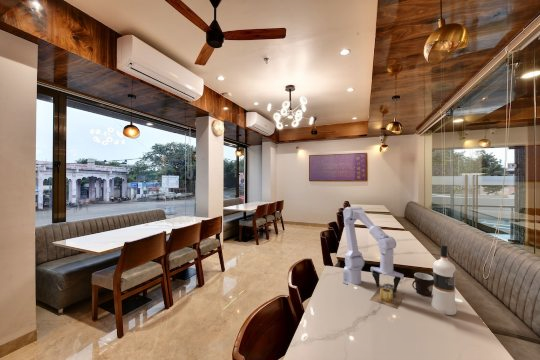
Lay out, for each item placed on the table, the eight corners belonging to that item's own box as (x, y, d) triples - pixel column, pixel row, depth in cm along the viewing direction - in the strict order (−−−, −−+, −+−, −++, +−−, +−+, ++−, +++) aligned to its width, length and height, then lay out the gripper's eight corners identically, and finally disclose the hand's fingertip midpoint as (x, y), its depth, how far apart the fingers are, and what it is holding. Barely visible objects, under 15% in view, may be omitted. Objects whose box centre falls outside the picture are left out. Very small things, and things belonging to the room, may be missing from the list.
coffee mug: (427, 291, 123) (427, 273, 123) (437, 300, 114) (438, 280, 114) (404, 290, 124) (405, 272, 124) (413, 299, 116) (413, 279, 115)
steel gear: (384, 296, 116) (384, 287, 116) (382, 291, 121) (382, 282, 121) (396, 298, 114) (396, 289, 114) (394, 292, 119) (394, 284, 119)
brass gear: (378, 299, 113) (378, 290, 113) (382, 295, 117) (382, 286, 117) (390, 303, 109) (390, 294, 109) (394, 299, 113) (394, 290, 113)
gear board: (369, 302, 113) (369, 291, 112) (380, 288, 126) (380, 278, 126) (397, 311, 105) (397, 299, 105) (405, 296, 119) (405, 285, 118)
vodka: (436, 302, 112) (436, 241, 112) (459, 311, 105) (460, 246, 104) (427, 308, 107) (428, 244, 107) (451, 318, 99) (452, 249, 99)
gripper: (368, 260, 115) (368, 287, 115) (401, 268, 105) (401, 297, 105) (373, 256, 120) (372, 282, 120) (404, 263, 111) (404, 291, 111)
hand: (386, 289), depth 113 cm, fingers open, 7 cm apart
